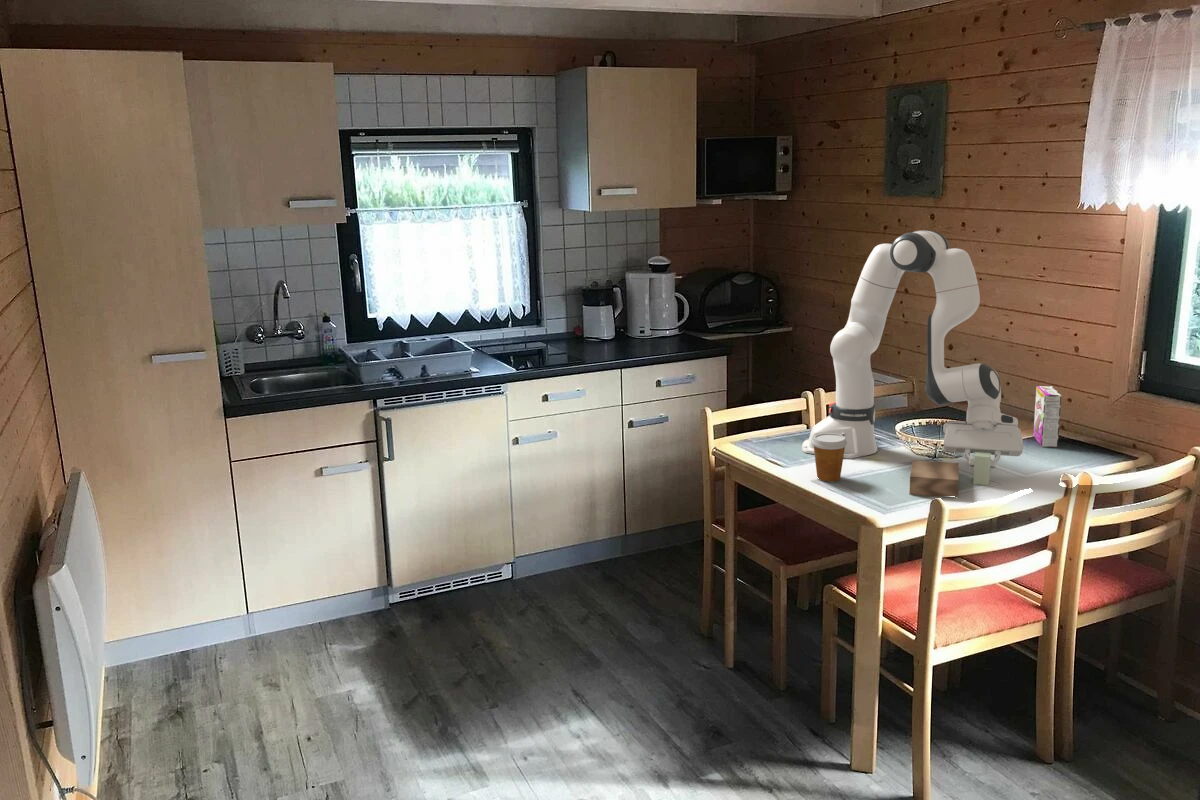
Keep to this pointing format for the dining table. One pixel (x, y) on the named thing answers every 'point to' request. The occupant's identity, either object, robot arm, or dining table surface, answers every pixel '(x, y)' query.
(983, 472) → the sage block
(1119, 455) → the dining table surface
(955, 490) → the walnut plinth
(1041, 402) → the candy bar box
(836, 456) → the disposable coffee cup
